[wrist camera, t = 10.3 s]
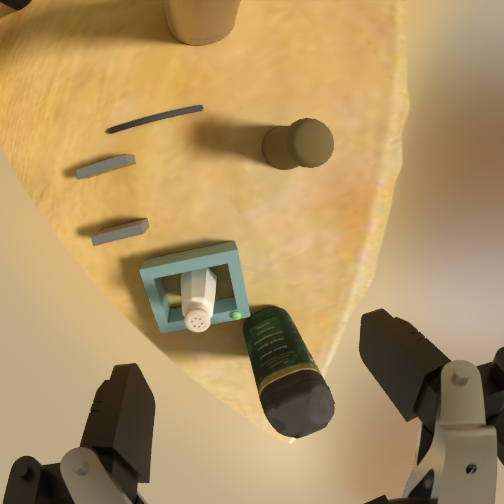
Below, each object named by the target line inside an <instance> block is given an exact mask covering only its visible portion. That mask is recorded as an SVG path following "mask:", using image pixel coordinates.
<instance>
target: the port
mask: <svg viewBox="0 0 504 504" xmlns="http://www.w3.org/2000/svg"><path fill="white" fill-rule="evenodd" d="M227 263H228V268H229V272H230V277H231V282H232V287H233V291H234V296H233V297H228V298H224V299H219V300H215V301H214V309H213V315H212V317H211V318H210V325H212V324H217V323H222V322H227V321H232V320H239V319H241V318H246V317H250V311H249V305H248V300H247V295H246V290H245V285H244V280H243V275H242V270H241V264H240V259H239V254H238V249H237V246H236V244H235V241H231V242H226V243H221V244H216V245H212V246H207V247H202V248H197V249H193V250H188V251H183V252H178V253H174V254H169V255H164V256H160V257H155V258H151V259H146V260H145V261H144V262H143V264H142V266H141V267H140V269H139V272H140V275H141V278H142V281H143V284H144V288H145V291H146V294H147V297H148V300H149V302H150V305H151V308H152V311H153V314H154V317H155V319H156V322H157V325H158V327H159V330H160V333H161V334H163V333H169V332H175V331H181V330H186V329H188V328H187V327H186V326H185V323H184V318H185V317H184V316H183V314H182V307H179V308H173V309H171V308H170V305H169V302H168V299H167V296H166V293H165V290H164V286H163V283H162V280H161V277H164V276H169V275H174V274H179V273H183V272H188V271H193V270H198V269H203V268H208V267H212V266H217V265H222V264H227Z"/></svg>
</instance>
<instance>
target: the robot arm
mask: <svg viewBox="0 0 504 504" xmlns="http://www.w3.org/2000/svg"><path fill="white" fill-rule="evenodd" d="M162 2H163V6H164V10H165V15H166V19H167V23H168V27H169V30H170V32H171V34H172V35H173V36H174V37H175V38H176V39H178V40H179V41H181V42H183V43H186V44H190V45H207V44H211V43H214V42H217V41H219V40H221V39H222V38H224V37H225V36H227V35H228V34H229V33H230V31H231V30H232V28H233V26H234V23H235V20H236V16H237V12H238V8H239V4H240V0H162ZM359 352H360V356H361V358H362V361H363V363H364V364H365V365H366V367H367V368H368V369H369V371H370V372H371V373H372V375H373V376H374V377H375V379H376V380H377V382H378V383H379V384H380V386H381V387H382V388H383V390H384V391H385V392H386V394H387V395H388V397H389V398H390V399H391V401H392V402H393V403H394V405H395V406H396V408H397V409H398V410H399V412H400V413H401V415H402V416H403V417H404V419H405V420H406V421H407V422H408V421H410V420H412V419H414V418H416V417H417V416H418V417H419V419H420V420H421V422H420V425H419V430H418V438H417V445H416V451H415V456H414V462H413V467H412V471H411V474H410V476H409V478H408V481H407V483H406V486H405V489H404V492H403V495H402V498H398V499H390V500H387V498H386V496H385V495H383V496H380V497H378V498H376V499H374V500H372V501H370V502H367V503H365V504H494V503H495V493H496V479H497V457H498V458H499V460H500V461H501V462H502V464H503V465H504V347H502V348H500V349H499V350H498V351H497V353H496V355H495V357H494V360H493V362H490V363H487V364H483V365H480V366H475V365H473V364H472V363H470V362H468V361H464V360H455V361H451V360H450V359H448V358H447V357H446V356H445V355H444V354H443V353H442V352H441V351H440V350H439V349H438V348H437V347H435V345H434V344H432V343H431V342H430V341H429V340H428V339H427V338H425V336H424V335H423V334H421V333H420V332H418V330H417V329H416V328H415V327H413V326H412V325H411V324H410V323H409V322H407V321H405V320H403V319H400V318H398V317H396V318H393V317H392V316H391V315H390V314H389V313H388V312H386V311H385V310H384V309H378V310H375V311H372V312H369V313H366V314H363V315H362V318H361V328H360V342H359ZM93 402H94V404H92V407H91V410H90V411H91V413H89V416H88V419H87V423H86V426H85V430H84V433H83V436H82V440H81V443H80V447H78V448H74V449H72V450H70V451H69V452H67V453H66V454H65V456H64V457H63V458H62V460H61V463H55V464H49V465H41V464H40V463H39V462H38V461H37V460H36V459H35V458H33V457H30V456H23V457H20V458H19V459H18V460H16V461H15V462H14V464H13V466H12V468H11V472H10V475H9V479H8V483H7V487H6V491H5V495H4V500H3V504H148V503H147V502H146V501H145V500H144V498H143V497H142V496H141V495H140V493H139V492H138V491H137V484H138V483H149V479H150V462H151V448H152V437H153V426H154V416H155V400H154V396H153V393H152V391H151V389H150V388H149V386H148V384H147V382H146V380H145V378H144V376H143V374H142V372H141V370H140V369H139V367H138V365H137V364H136V363H132V364H123V365H115V366H114V368H113V371H112V374H111V377H110V380H105V381H104V382H103V383H102V385H101V386H100V387H99V388H98V390H97V392H96V395H95V398H94V400H93Z"/></svg>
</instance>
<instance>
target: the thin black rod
mask: <svg viewBox="0 0 504 504" xmlns="http://www.w3.org/2000/svg"><path fill="white" fill-rule="evenodd" d="M202 110H203V106H202V105H198V106H193V107H188V108H183V109H178V110H174V111H169V112H165V113H161V114H157V115H153V116H149V117H146V118H142V119H138V120H135V121H131V122H128V123H125V124H121V125H118V126H115V127H112V128H110V129H109V130H108V132H109V133H110V134H112V133H115V132H118V131H121V130H125V129H128V128H131V127H135V126H138V125H142V124H146V123H149V122H153V121H157V120H161V119H165V118H170V117H174V116H178V115H183V114H188V113H193V112H198V111H202Z"/></svg>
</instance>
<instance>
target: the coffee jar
mask: <svg viewBox="0 0 504 504" xmlns="http://www.w3.org/2000/svg"><path fill="white" fill-rule="evenodd" d="M243 332H244V337H245V341H246V345H247V349H248V353H249V357H250V361H251V365H252V369H253V373H254V377H255V382H256V385H257V389H258V394H259V399H260V402H261V405H262V408H263V410H264V413H265V416H266V417H267V419H268V421H269V423H270V424H271V425H272V426H273V428H274V429H275V430H276V431H277V432H278V433H280V434H282V435H284V436H288V437H294V438H301V437H304V436H307V435H309V434H312V433H314V432H316V431H319V430H321V429H323V428H325V427H326V426H327V424H328V423H329V421H330V420H331V418H332V417H333V414H334V409H335V408H334V404H335V402H334V400H333V397H332V394H331V391H330V389H329V387H328V386H327V384H326V382H325V380H324V378H323V376H322V375H321V373H320V371H319V369H318V367H317V365H316V363H315V362H314V360H313V358H312V356H311V354H310V352H309V350H308V349H307V347H306V345H305V343H304V341H303V340H302V338H301V336H300V334H299V332H298V330H297V328H296V326H295V324H294V322H293V321H292V319H291V317H290V316H289V314H288V313H287V311H285V310H284V309H282V308H279V307H273V308H268V309H265V310H262V311H260V312H258V313H256V314H254V315H252V316H251V317H249V318H248V319H247V320H246V322H245V323H244V326H243Z"/></svg>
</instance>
